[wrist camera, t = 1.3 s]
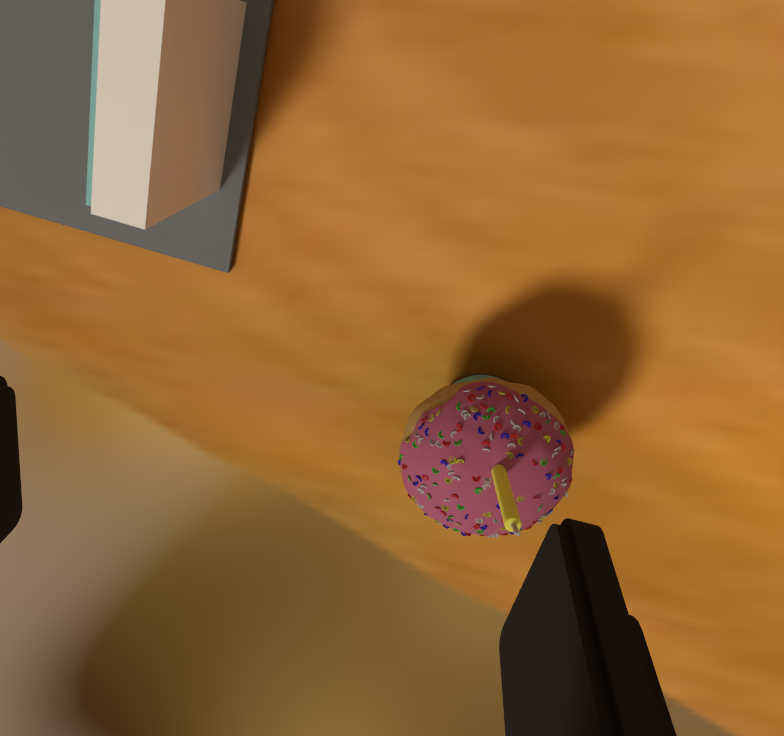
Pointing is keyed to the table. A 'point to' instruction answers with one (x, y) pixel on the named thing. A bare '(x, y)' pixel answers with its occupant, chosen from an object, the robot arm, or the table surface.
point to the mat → (71, 130)
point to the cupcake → (486, 456)
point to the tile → (160, 104)
